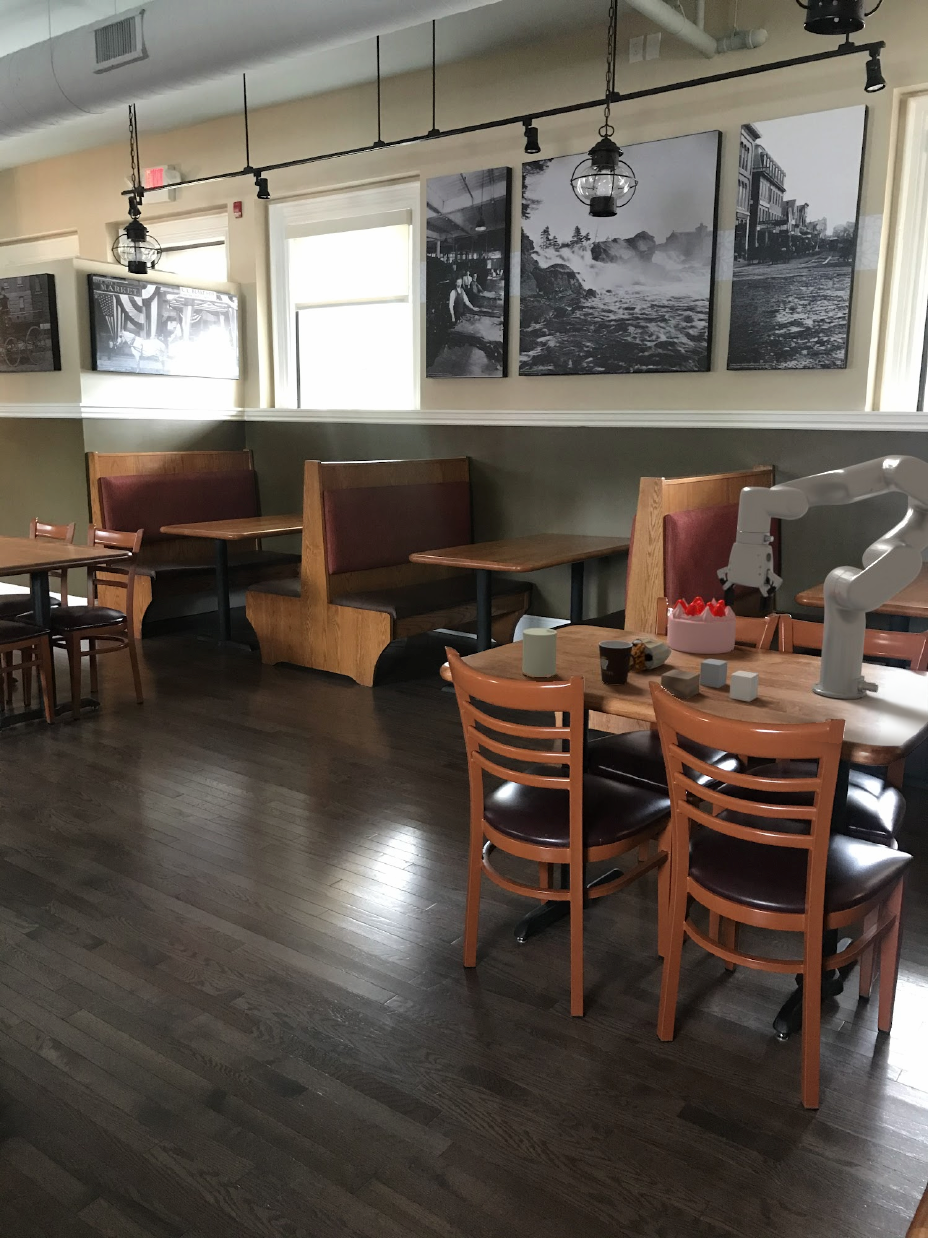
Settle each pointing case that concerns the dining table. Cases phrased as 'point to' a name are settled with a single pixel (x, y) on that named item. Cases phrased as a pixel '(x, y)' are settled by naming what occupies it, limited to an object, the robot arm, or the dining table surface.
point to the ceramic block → (744, 685)
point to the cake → (701, 627)
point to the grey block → (713, 673)
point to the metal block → (681, 683)
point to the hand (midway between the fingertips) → (746, 608)
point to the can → (539, 651)
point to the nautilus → (649, 653)
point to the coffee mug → (615, 661)
